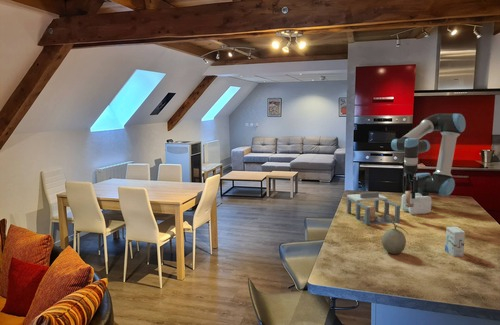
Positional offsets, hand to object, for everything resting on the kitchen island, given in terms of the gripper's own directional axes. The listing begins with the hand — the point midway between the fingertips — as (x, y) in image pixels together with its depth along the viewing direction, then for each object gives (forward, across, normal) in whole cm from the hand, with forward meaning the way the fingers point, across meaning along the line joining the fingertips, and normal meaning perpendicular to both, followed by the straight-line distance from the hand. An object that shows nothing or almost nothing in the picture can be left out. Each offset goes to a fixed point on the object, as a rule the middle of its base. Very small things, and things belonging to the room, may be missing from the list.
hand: (409, 202), depth 235 cm
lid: (-1, -15, -20) cm, 25 cm away
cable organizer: (+12, -14, +14) cm, 23 cm away
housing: (+11, -8, -20) cm, 24 cm away
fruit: (+10, +47, -38) cm, 61 cm away
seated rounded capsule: (+10, -2, -24) cm, 26 cm away
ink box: (+10, +53, -11) cm, 55 cm away
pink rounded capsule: (+2, 0, 0) cm, 2 cm away
